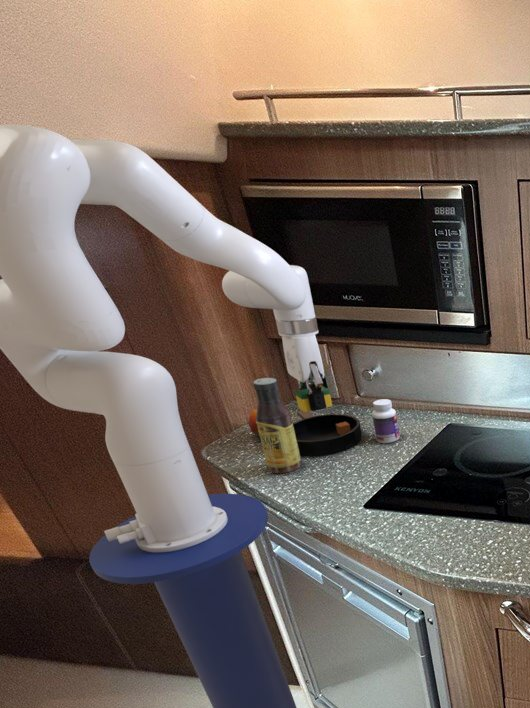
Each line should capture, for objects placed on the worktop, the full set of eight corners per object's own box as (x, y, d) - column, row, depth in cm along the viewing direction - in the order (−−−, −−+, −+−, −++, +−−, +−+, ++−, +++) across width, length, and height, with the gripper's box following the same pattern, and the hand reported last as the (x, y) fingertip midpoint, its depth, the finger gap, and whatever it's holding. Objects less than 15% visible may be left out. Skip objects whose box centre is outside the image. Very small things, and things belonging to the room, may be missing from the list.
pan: (301, 463, 110) (297, 448, 108) (269, 432, 123) (265, 418, 121) (373, 442, 120) (370, 428, 118) (336, 415, 133) (334, 402, 132)
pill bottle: (402, 440, 121) (396, 403, 117) (379, 445, 119) (372, 407, 114) (396, 432, 125) (390, 396, 121) (374, 437, 123) (367, 400, 118)
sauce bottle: (262, 471, 106) (235, 382, 97) (287, 459, 111) (264, 373, 102) (285, 477, 104) (260, 387, 95) (310, 464, 109) (288, 378, 100)
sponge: (304, 412, 112) (300, 395, 110) (298, 407, 114) (294, 391, 113) (332, 406, 116) (329, 390, 114) (325, 401, 118) (322, 385, 117)
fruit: (236, 433, 118) (246, 401, 118) (269, 439, 125) (279, 409, 125) (254, 442, 115) (264, 409, 115) (287, 447, 122) (298, 416, 122)
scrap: (341, 436, 121) (339, 427, 120) (337, 433, 122) (335, 424, 121) (351, 433, 122) (349, 424, 121) (347, 430, 124) (345, 421, 123)
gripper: (265, 322, 110) (284, 400, 117) (291, 335, 99) (310, 420, 107) (302, 318, 115) (318, 394, 122) (331, 331, 104) (346, 412, 112)
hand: (314, 405), depth 115 cm, fingers closed on sponge, 4 cm apart
